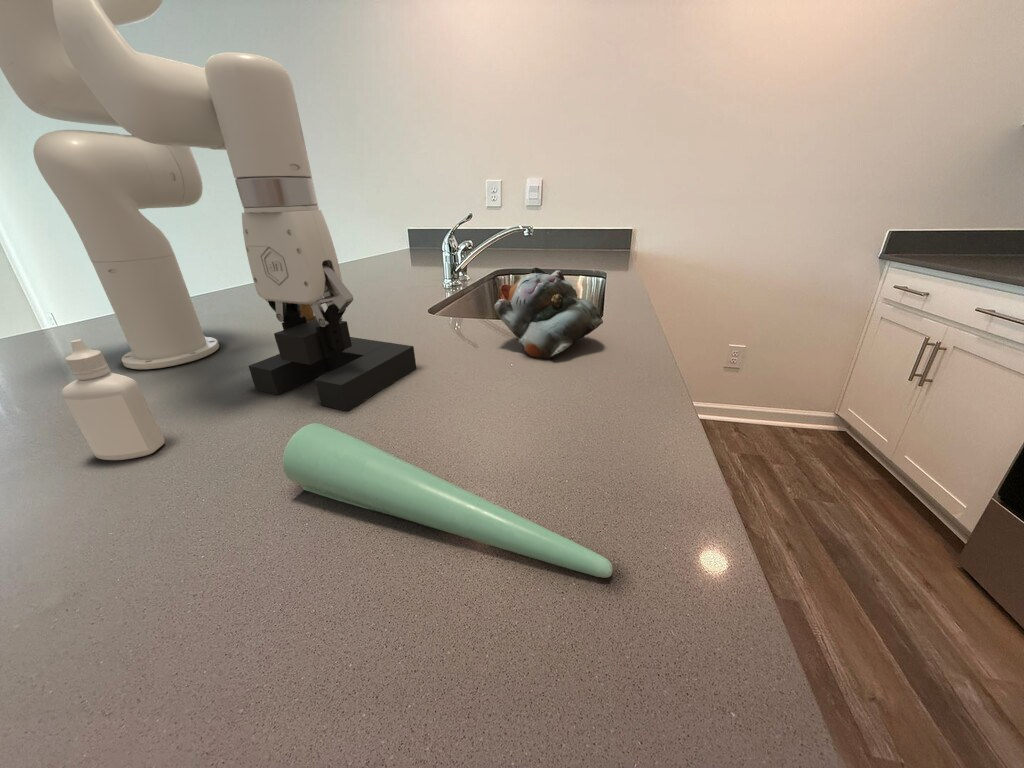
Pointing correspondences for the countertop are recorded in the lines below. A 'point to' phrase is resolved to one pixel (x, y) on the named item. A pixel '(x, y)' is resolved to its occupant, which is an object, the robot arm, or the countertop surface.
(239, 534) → the countertop surface
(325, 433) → the long green cone
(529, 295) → the lucky cat figurine
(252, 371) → the dark grey u-shaped block
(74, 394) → the eye dropper bottle
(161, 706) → the countertop surface
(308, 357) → the dark grey block
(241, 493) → the countertop surface
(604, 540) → the countertop surface
